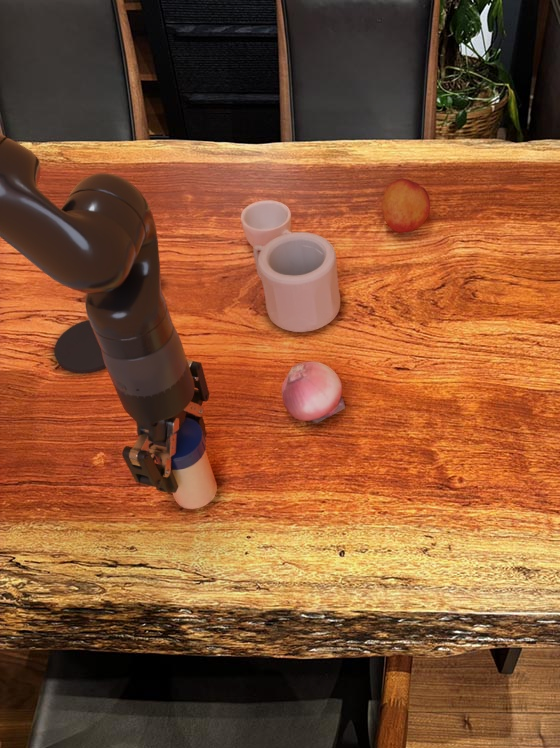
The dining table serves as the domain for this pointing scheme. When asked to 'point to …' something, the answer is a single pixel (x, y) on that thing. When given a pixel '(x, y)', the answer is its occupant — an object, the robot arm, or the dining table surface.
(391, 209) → the fruit
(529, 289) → the dining table surface
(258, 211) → the teacup
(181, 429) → the jar lid
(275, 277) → the mug
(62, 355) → the trivet
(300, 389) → the onion
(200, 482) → the jar
